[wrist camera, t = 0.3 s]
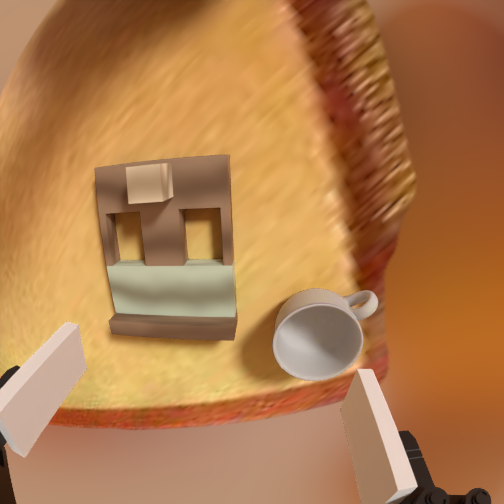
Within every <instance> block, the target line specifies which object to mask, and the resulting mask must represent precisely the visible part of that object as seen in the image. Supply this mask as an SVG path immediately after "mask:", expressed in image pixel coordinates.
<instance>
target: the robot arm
mask: <svg viewBox="0 0 504 504" xmlns="http://www.w3.org/2000/svg"><path fill="white" fill-rule="evenodd" d="M86 369H87V366H86V361H85V356H84V351H83V346H82V341H81V335H80V329H79V325H77V324H73V323H70V322H65V323H64V324H63V325H62V326H61V327H60V328H59V329H58V330H57V331H56V332H55V333H54V334H53V335H52V336H51V337H50V338H49V339H48V340H47V341H46V342H45V343H44V344H43V345H42V346H41V347H40V348H39V349H38V350H37V351H36V352H35V353H34V354H33V355H32V356H31V357H30V358H29V359H28V360H27V361H26V362H25V363H24V364H23V365H22V366H21V367H19V366H15V367H13V368H11V369H9V370H7V371H6V372H5V373H4V374H3V376H2V377H1V379H0V504H16V500H15V497H14V492H13V488H12V483H11V478H10V473H9V468H8V462H7V455H6V450H5V447H4V445H5V444H6V442H7V443H8V445H9V446H10V448H11V449H12V450H13V451H14V452H16V453H18V454H19V455H21V456H23V457H26V456H27V454H28V452H29V451H30V450H31V448H32V447H33V445H34V443H35V442H36V440H37V439H38V437H39V436H40V434H41V433H42V431H43V430H44V428H45V427H46V426H47V424H48V423H49V421H50V420H51V418H52V417H53V415H54V414H55V412H56V411H57V410H58V408H59V407H60V405H61V404H62V402H63V401H64V400H65V398H66V397H67V395H68V394H69V393H70V391H71V390H72V388H73V387H74V386H75V384H76V383H77V382H78V380H79V379H80V377H81V376H82V375H83V373H84V372H85V371H86ZM340 412H341V416H342V420H343V424H344V428H345V433H346V437H347V441H348V446H349V450H350V454H351V459H352V463H353V468H354V473H355V478H356V482H357V487H358V492H359V497H360V502H361V504H491V498H490V495H489V494H488V492H487V491H485V490H484V489H481V488H474V489H472V490H471V491H469V493H467V494H466V495H447V493H446V492H445V491H444V490H443V489H441V488H438V487H435V485H434V483H433V481H432V478H431V476H430V473H429V471H428V468H427V466H426V463H425V461H424V458H422V453H421V451H420V450H419V446H418V444H417V441H416V439H415V438H414V437H413V436H412V434H411V433H410V432H409V431H399V432H398V431H397V428H396V426H395V424H394V421H393V418H392V416H391V413H390V411H389V408H388V406H387V403H386V401H385V399H384V396H383V394H382V391H381V389H380V386H379V384H378V382H377V379H376V377H375V375H374V372H373V370H372V369H357V371H356V373H355V376H354V378H353V381H352V383H351V386H350V388H349V390H348V393H347V395H346V397H345V400H344V402H343V405H342V406H341V409H340Z"/></svg>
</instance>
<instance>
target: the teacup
mask: <svg viewBox="0 0 504 504" xmlns="http://www.w3.org/2000/svg"><path fill="white" fill-rule="evenodd" d="M365 301H367V302H366V304H364V305H363V306H362V307H360V308H357V309H354V308H353V307H351V306H354V305H356V304H359V303H361V302H365ZM377 306H378V299H377V297H376V295H375V294H374V293H373V292H371V291H368V290H365V291H360V292H357V293H354V294H352V295H349V296H344V297H341V296H339V295H338V294H336V293H334V292H332V291H330V290H327V289H320V288H313V289H307V290H303V291H301V292H298V293H296V294H295V295H293V296H292V297H290V298H289V299H288V300H287V301H286V302H285V303H284V304H283V306H282V307H281V309H280V311H279V313H278V315H277V318H276V322H275V329H274V336H273V342H272V348H273V354H274V356H275V359H276V361H277V363H278V364H279V366H280V367H281V368H282V369H283V370H284V371H285V372H287V373H288V374H290V375H291V376H294V377H296V378H298V379H302V380H307V381H321V380H326V379H330V378H333V377H335V376H338V375H340V374H342V373H343V372H344V371H346V370H347V369H348V368H349V367H351V366H352V365H353V363H354V362H355V361H356V360H357V358H358V357H359V354H360V352H361V350H362V346H363V333H362V329H361V327H360V324H359V322H358V320H362V319H365V318H367V317H368V316H370V315H371V314H372V313H373V312H374V311H375V310H376V308H377Z"/></svg>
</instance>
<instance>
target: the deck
mask: <svg viewBox="0 0 504 504" xmlns="http://www.w3.org/2000/svg"><path fill="white" fill-rule="evenodd" d="M161 163H171V165H172V183H173V197H172V198H170V199H167V200H165V201H163V202H149V203H135V204H129V203H128V191H127V178H126V167H133V166H142V165H151V164H161ZM95 180H96V192H97V202H98V211H99V220H100V227H101V235H102V242H103V248H104V255H105V261H106V266H107V272H108V277H109V283H110V288H111V292H112V297H113V302H114V306H115V311H116V313H115V315H114V316H113V317H112V318H111V319H110V320H109V325H110V329H111V333H112V334H118V335H129V336H142V337H156V338H172V339H193V340H231V341H234V338H235V332H236V326H237V304H236V286H235V267H234V247H233V226H232V203H231V178H230V155H211V156H196V157H183V158H172V159H161V160H152V161H143V162H134V163H126V164H119V165H111V166H104V167H98V168H95ZM194 208H220V209H221V228H222V245H223V259H188V251H187V240H186V228H185V215H184V209H194ZM138 211H140V219H141V229H142V237H143V246H144V253H145V260H120V254H119V247H118V240H117V232H116V224H115V216H114V213H123V212H138Z"/></svg>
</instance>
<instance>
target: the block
mask: <svg viewBox="0 0 504 504" xmlns="http://www.w3.org/2000/svg"><path fill="white" fill-rule="evenodd" d="M126 178H127V191H128V203H129V204H135V203H149V202H163V201H165V200H167V199H170V198H172V197H173V183H172V165H171V163H161V164H151V165H142V166H133V167H126Z"/></svg>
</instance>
